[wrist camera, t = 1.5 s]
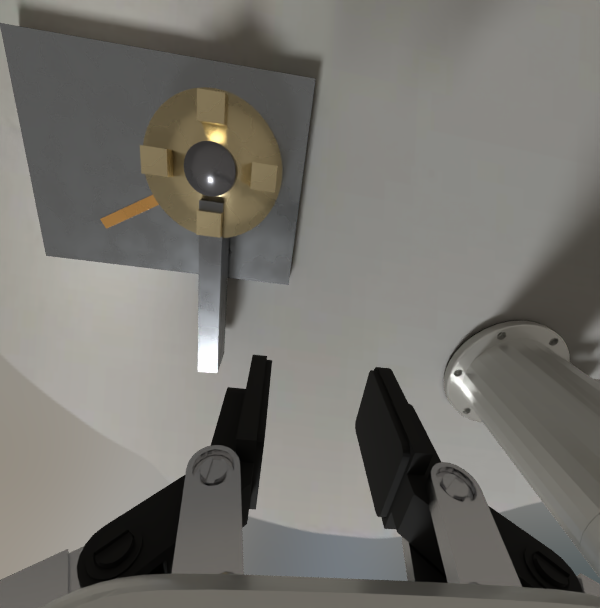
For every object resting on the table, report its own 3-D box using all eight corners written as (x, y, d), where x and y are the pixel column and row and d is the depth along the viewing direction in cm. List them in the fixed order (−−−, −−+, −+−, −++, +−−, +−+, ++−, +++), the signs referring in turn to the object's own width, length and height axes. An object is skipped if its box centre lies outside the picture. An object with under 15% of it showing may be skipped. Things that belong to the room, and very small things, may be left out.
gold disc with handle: (289, 108, 21) (289, 97, 18) (263, 356, 30) (259, 381, 26) (156, 86, 21) (129, 70, 17) (167, 346, 29) (150, 371, 25)
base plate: (313, 84, 22) (315, 78, 21) (288, 279, 28) (288, 285, 27) (19, 32, 21) (-2, 22, 19) (58, 251, 27) (45, 256, 25)
